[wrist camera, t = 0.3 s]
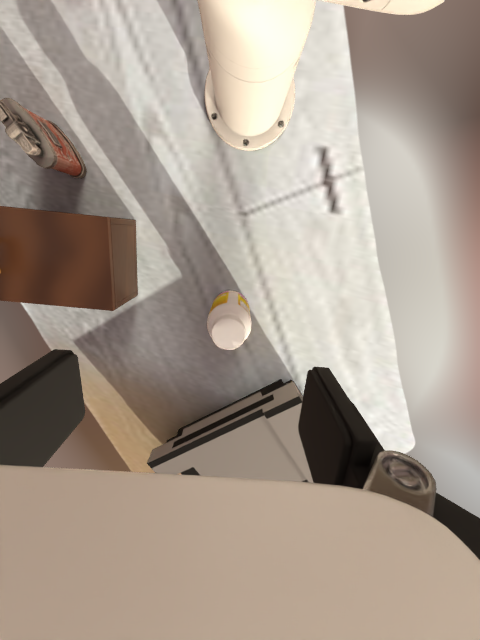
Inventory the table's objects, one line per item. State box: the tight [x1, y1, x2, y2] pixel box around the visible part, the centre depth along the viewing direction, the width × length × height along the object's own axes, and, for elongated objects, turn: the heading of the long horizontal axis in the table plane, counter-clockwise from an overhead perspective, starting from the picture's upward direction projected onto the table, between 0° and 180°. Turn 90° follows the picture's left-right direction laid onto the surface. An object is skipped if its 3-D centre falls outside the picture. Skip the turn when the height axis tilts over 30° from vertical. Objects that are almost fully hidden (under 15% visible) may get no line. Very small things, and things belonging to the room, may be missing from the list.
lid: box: [0, 206, 115, 311], centre depth 33 cm, size 17×13×5 cm
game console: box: [147, 380, 313, 483], centre depth 53 cm, size 21×32×8 cm, turn 120°
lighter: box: [0, 98, 86, 179], centre depth 34 cm, size 8×3×10 cm, turn 32°
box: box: [110, 217, 138, 309], centre depth 40 cm, size 17×13×9 cm
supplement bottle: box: [207, 291, 251, 350], centre depth 41 cm, size 7×7×13 cm
